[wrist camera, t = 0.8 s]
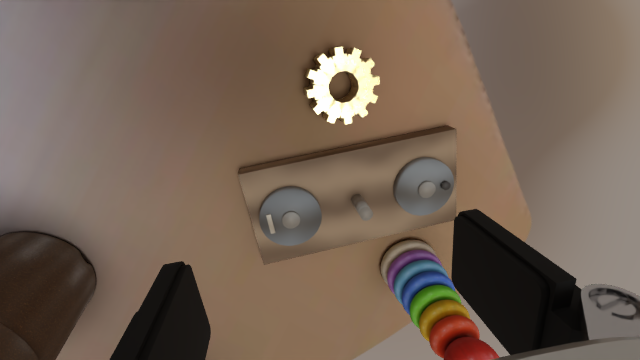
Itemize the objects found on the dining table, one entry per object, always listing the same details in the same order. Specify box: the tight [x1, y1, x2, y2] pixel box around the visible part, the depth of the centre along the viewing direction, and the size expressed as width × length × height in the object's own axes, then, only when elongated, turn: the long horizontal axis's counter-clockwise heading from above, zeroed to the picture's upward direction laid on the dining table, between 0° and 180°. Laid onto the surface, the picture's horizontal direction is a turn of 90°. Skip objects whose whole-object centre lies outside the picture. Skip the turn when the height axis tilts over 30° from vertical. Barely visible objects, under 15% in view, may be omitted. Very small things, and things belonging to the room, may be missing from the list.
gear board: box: [238, 126, 456, 265], centre depth 36 cm, size 12×25×6 cm, turn 100°
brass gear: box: [303, 46, 380, 124], centre depth 32 cm, size 7×7×3 cm
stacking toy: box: [381, 240, 499, 360], centre depth 35 cm, size 8×8×19 cm
